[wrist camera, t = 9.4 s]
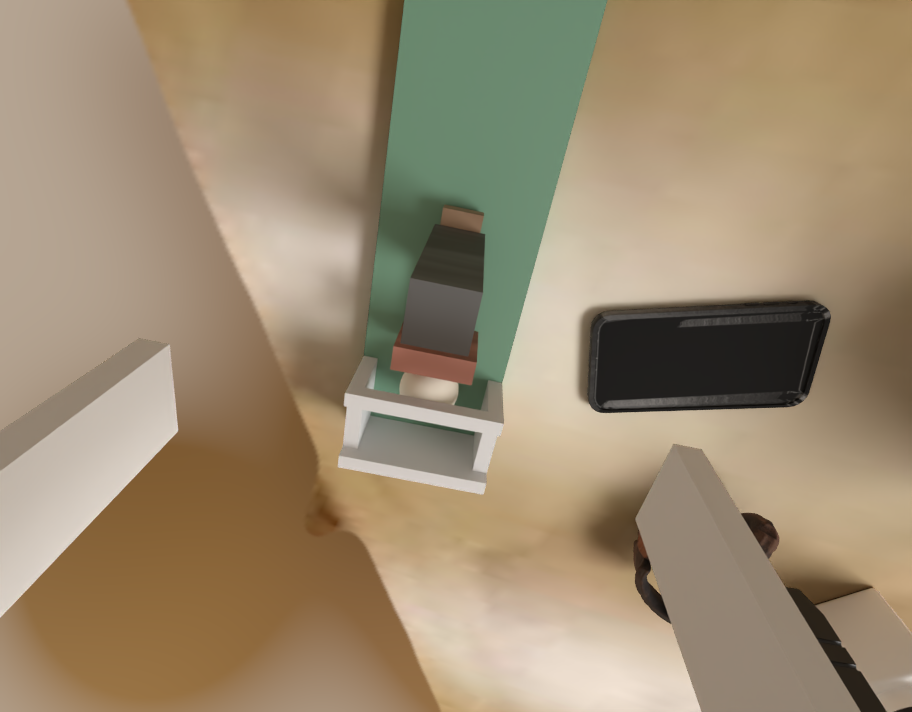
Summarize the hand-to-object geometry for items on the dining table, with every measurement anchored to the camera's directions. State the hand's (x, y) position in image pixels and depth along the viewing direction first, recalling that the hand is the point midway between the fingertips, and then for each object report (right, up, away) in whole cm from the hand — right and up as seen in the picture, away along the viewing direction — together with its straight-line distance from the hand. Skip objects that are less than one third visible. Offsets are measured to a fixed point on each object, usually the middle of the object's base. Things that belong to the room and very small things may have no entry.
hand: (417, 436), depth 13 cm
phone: (+18, +2, +21) cm, 28 cm away
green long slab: (+1, +9, +18) cm, 21 cm away
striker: (+1, +7, +18) cm, 19 cm away
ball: (-1, 0, +20) cm, 20 cm away
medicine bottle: (+37, -22, +33) cm, 54 cm away
